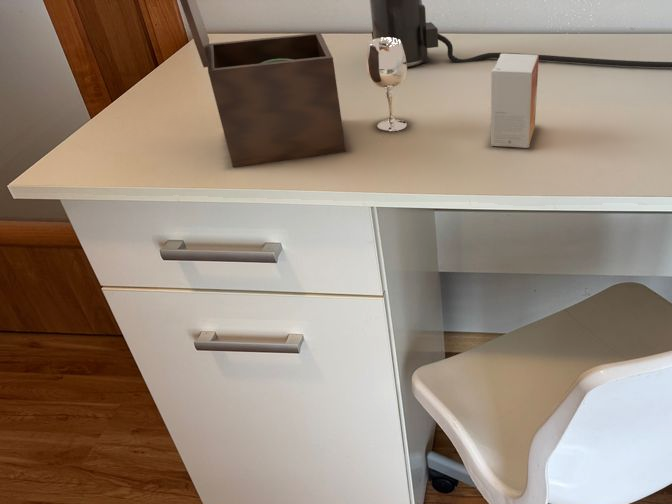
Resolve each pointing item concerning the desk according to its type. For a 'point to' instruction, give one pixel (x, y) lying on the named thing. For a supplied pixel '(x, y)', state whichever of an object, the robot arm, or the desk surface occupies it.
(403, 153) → the desk surface
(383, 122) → the wineglass
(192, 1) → the chest lid
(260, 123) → the chest
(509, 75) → the small box
